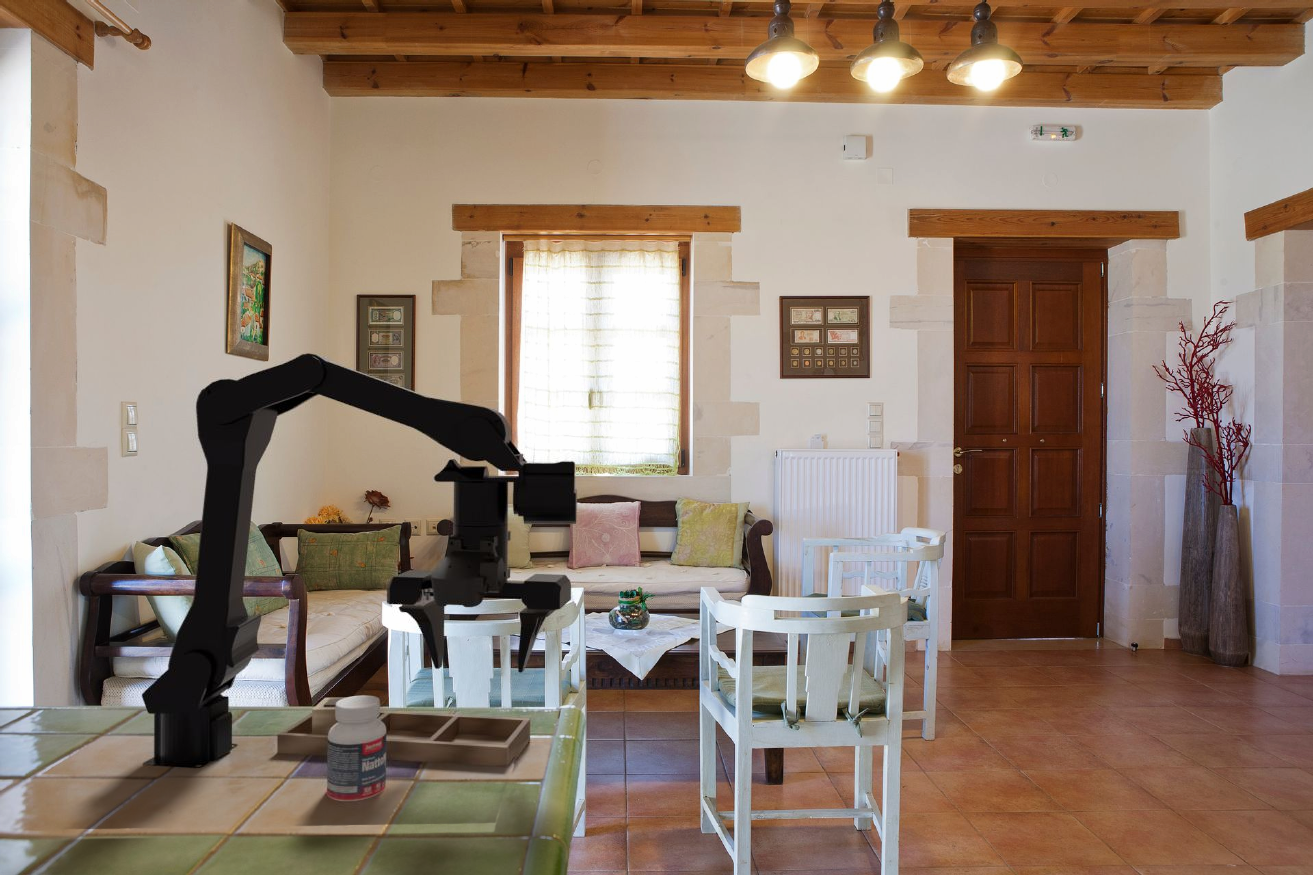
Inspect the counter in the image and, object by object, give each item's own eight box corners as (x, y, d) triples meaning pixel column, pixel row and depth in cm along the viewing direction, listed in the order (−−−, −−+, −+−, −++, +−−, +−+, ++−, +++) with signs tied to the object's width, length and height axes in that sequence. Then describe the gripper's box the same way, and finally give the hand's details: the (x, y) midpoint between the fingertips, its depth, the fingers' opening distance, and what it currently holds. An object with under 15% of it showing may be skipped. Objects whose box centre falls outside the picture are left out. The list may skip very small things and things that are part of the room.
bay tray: (277, 757, 88) (277, 734, 88) (320, 729, 97) (320, 707, 97) (506, 771, 85) (507, 747, 85) (530, 740, 94) (530, 718, 94)
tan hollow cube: (311, 746, 90) (312, 707, 90) (324, 733, 94) (325, 695, 94) (349, 746, 90) (350, 707, 90) (361, 732, 94) (361, 695, 94)
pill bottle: (366, 809, 76) (367, 712, 76) (315, 804, 78) (316, 708, 77) (396, 785, 82) (396, 694, 82) (347, 781, 83) (348, 691, 83)
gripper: (362, 530, 83) (361, 688, 83) (546, 535, 80) (545, 697, 81) (409, 519, 94) (408, 658, 94) (572, 522, 92) (571, 665, 92)
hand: (479, 669), depth 90 cm, fingers open, 9 cm apart
